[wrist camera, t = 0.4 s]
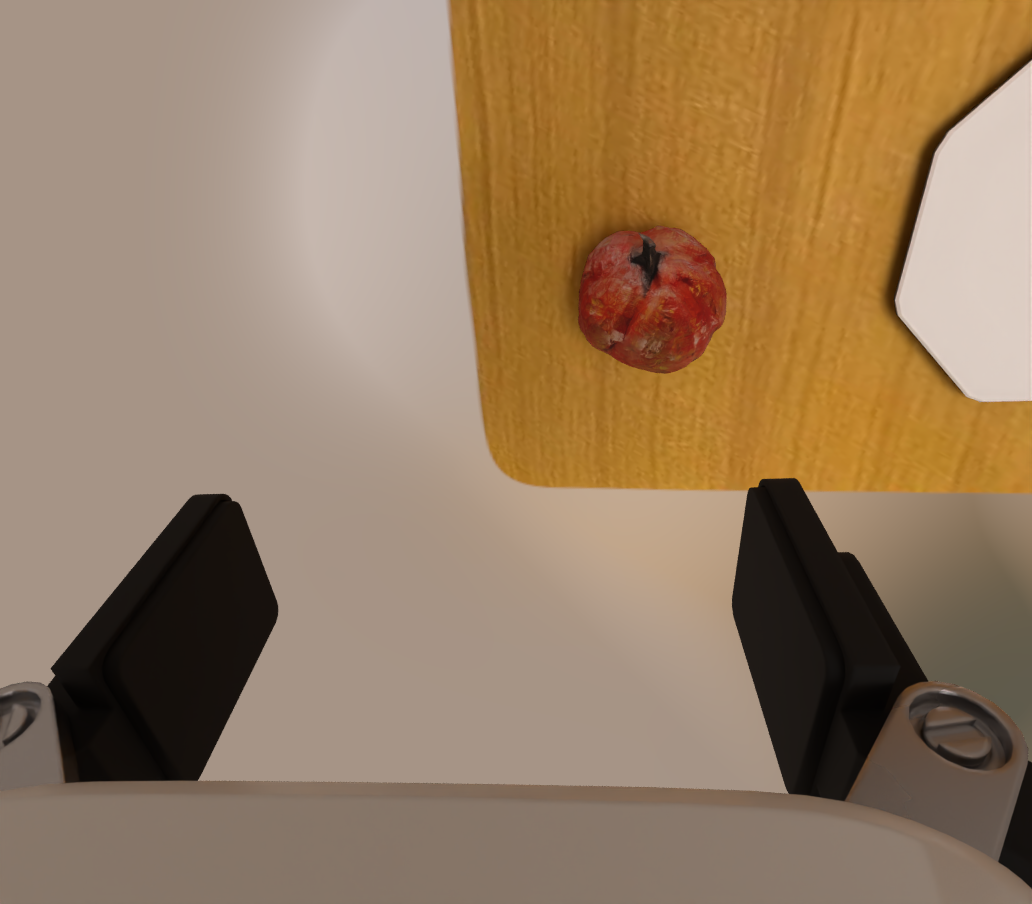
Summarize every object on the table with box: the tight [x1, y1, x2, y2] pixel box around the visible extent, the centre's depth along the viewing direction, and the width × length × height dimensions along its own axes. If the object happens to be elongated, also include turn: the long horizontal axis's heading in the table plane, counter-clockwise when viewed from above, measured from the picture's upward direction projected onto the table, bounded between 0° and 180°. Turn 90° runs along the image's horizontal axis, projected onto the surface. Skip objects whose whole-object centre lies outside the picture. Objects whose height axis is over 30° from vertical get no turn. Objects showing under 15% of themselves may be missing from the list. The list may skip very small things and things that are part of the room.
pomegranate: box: [578, 226, 726, 373], centre depth 33 cm, size 7×7×10 cm
